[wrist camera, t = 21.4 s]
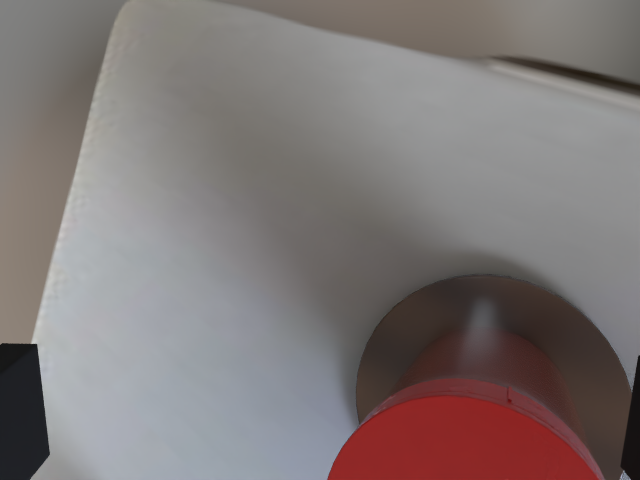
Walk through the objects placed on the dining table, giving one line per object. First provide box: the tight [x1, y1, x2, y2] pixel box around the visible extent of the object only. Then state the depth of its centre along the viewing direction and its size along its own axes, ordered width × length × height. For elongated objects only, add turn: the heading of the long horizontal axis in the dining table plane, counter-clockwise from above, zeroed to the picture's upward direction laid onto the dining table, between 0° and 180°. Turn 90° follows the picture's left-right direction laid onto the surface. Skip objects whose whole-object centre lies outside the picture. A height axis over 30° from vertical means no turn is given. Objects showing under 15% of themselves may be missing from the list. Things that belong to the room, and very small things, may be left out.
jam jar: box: [382, 327, 595, 460], centre depth 21 cm, size 8×8×12 cm
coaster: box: [356, 274, 632, 480], centre depth 26 cm, size 13×13×1 cm
